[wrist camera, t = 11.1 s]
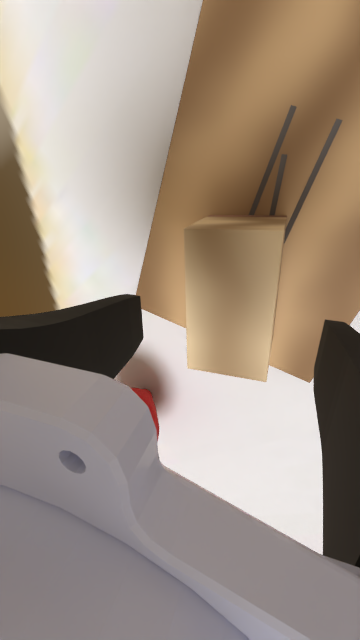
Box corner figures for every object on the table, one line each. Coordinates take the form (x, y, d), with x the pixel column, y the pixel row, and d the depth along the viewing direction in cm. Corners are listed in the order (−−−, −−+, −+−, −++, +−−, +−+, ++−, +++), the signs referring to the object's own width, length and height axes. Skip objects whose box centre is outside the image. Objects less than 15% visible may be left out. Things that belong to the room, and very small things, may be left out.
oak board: (604, -68, 11) (636, -93, 10) (309, 373, 22) (309, 383, 21) (243, -131, 13) (238, -157, 12) (140, 299, 24) (133, 305, 23)
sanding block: (287, 215, 17) (283, 231, 13) (272, 338, 21) (266, 381, 16) (209, 214, 19) (183, 228, 14) (208, 330, 22) (187, 368, 18)
